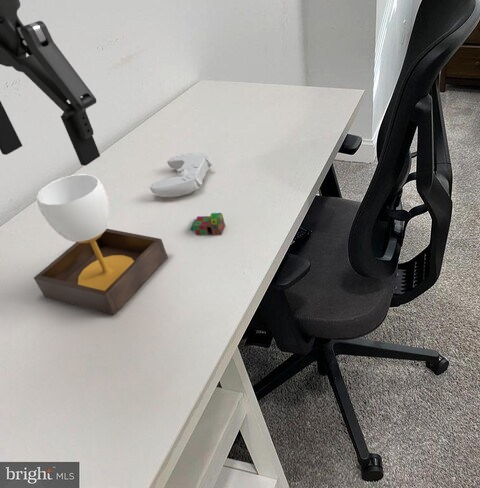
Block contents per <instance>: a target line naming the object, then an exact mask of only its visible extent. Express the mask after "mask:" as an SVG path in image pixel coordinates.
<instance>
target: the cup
mask: <svg viewBox="0 0 480 488" xmlns="http://www.w3.org/2000/svg"><path fill="white" fill-rule="evenodd" d="M36 203H37V207H38V209H39V212H40V213H41V214H42V217H44V219H45V221H47V223H48V225H49V226H50V227H51V228H52V230H54V231H55V232H56V233H57V234H58V235H59V236H60V237H62V238H64V239H65V240H66V241H70V242H72V243H76V242H78V243H88V242H90V244H91V246H92V248H93V250H94V252H95V255H96V257H97V259H98V260H97V261H95V262H93V263H91V264H90V265H89V266H87V267H86V268H85V269H84V270H83V271H82V272H81V274H80V275H79V277H78V285H82V286H87V287H91V288H95V289H99V290H103V291H105V290H106V289H107V288H108V287H109V286H110V285H111V284H112V283H113V282H114V281H115V280H116V279H117V278H118V277H119V276H120V275H121V274H122V273H123V272H124V271H125V270H126V269H127V268H128V267H129V266H130V265H131V264H132V263H133V262H134V260H133V259H132V258H130V257H127V256H124V255H112V256H108V257H104V258H103V256H102V254H101V252H100V249H99V247H98V245H97V243H96V241H95V240H97V239H98V238H99V237H101V236H102V234H103V233H104V231H105V230H106V229H108V227H109V224H110V219H111V218H110V217H111V215H110V214H111V209H110V200H109V197H108V194H107V191H106V189H105V187H104V185H103V184H102V182H101V180H100V179H99V178H98V177H97V176H95V175H92V174H88V173H77V174H71V175H67V176H63V177H60V178H57V179H55V180H53V181H50V182H49V183H48V184H46V185H44V186H43V187H42V188H41V189H40V190H39V191H38V192H37V195H36Z"/></svg>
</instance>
